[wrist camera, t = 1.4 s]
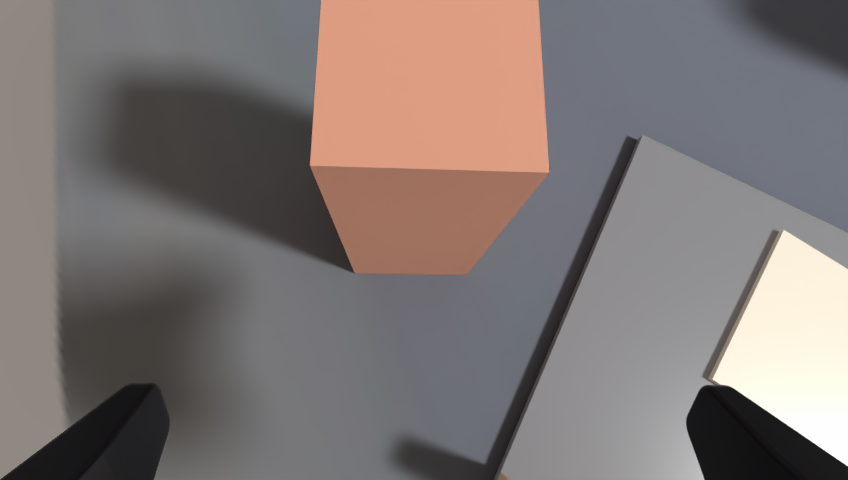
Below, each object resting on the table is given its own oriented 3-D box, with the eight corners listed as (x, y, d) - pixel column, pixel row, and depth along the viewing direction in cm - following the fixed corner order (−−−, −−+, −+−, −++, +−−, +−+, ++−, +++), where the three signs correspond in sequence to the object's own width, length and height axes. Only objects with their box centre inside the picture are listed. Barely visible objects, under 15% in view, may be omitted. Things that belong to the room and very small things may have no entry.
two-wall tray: (910, 727, 18) (1047, 823, 15) (485, 498, 20) (508, 531, 16) (986, 306, 23) (1105, 294, 19) (637, 139, 24) (684, 95, 20)
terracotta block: (466, 275, 22) (549, 172, 10) (354, 273, 22) (310, 165, 10) (464, 171, 23) (536, -25, 12) (358, 168, 23) (324, -36, 11)
